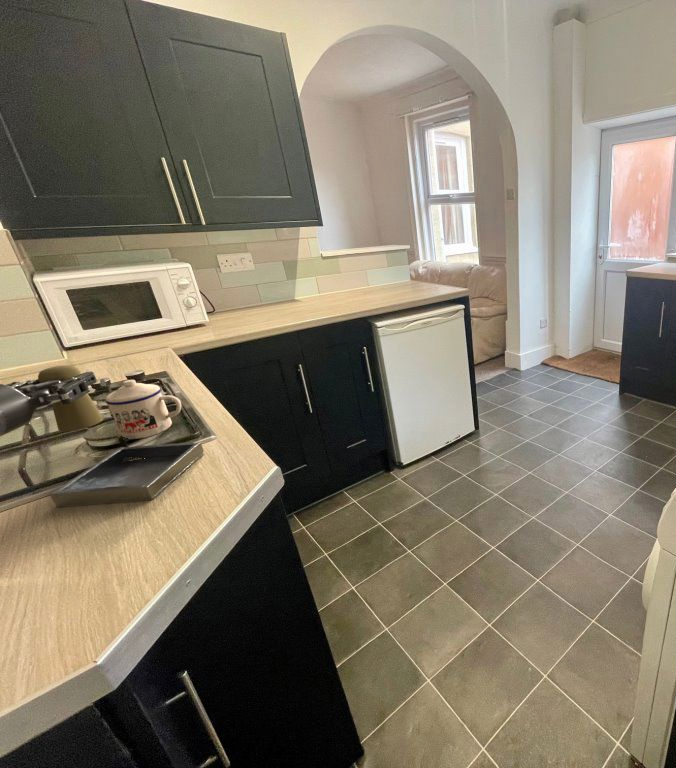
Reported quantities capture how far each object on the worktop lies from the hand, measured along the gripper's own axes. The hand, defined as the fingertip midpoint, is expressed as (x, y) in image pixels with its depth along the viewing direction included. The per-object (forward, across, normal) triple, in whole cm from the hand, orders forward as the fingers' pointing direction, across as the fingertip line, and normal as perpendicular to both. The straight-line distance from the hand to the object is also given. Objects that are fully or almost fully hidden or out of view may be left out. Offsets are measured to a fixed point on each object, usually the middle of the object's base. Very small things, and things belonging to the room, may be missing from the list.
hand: (75, 377), depth 76 cm
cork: (-3, 0, +8) cm, 9 cm away
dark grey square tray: (-9, -11, +16) cm, 22 cm away
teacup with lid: (+11, -1, +16) cm, 20 cm away
